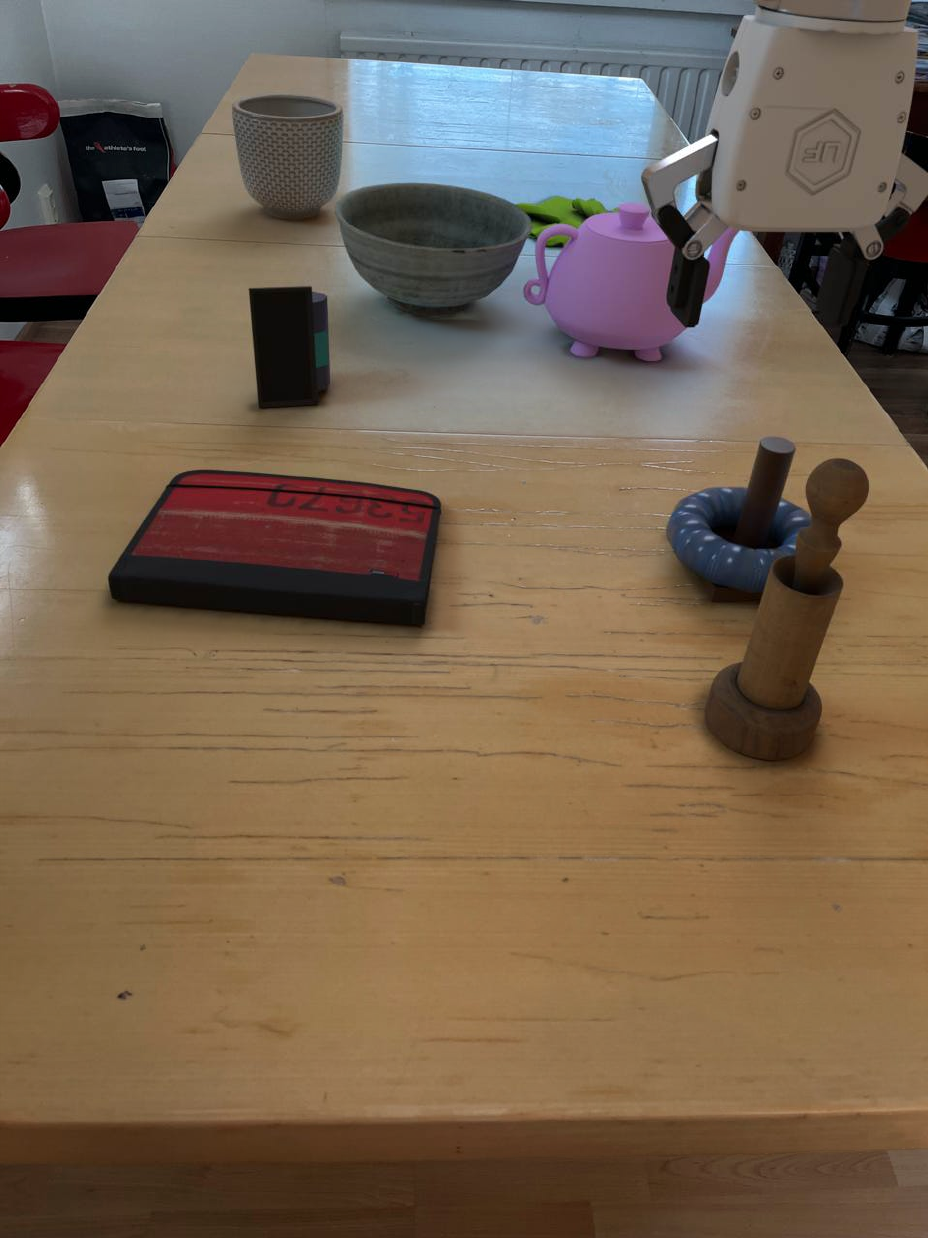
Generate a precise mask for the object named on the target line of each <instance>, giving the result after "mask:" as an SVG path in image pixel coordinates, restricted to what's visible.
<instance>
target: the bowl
mask: <svg viewBox="0 0 928 1238" xmlns="http://www.w3.org/2000/svg"><path fill="white" fill-rule="evenodd" d="M515 204H516V203H513V202H511V201H509V200H507V199H505V198H503V197H499V196H498V195H494V194H492V193H488V192H485V191H481V190H477V189H473V188H467V187H462V186H457V185H451V184H444V183H443V184H441V183H434V182H416V181H415V182H412V181H411V182H391V183H390V182H389V183H380V184H373V185H368V186H363V187H360V188H357V189H354V190H351V191H349V192H347V193H346V194H344V195H342V196H341V197H340V198H339V199H338V200H337V201H336V203H335V204H334V205H335V206H334V210H333V211H334V212H333V213H334V215H335V217H336V219H337V221H338V224H339V230H340V233H341V238H342V241H343V244H344V248H345V250H346V253H347V255H348V257H349V259H350V262H351V263H352V265H353V268H354V270H356V273H358V275H359V276H360V277H361V279H363V280H364V281H365V282H366V283H367V284H368V285H369V286H370V287H372V288H373V289H374V290H375V291H377V292H378V293H381V294H382V295H384V296H386V299H387V300H388V302H389V303H390V304H391V305H393V307H395V308H396V309H399V310H401V311H402V312H403V311H404V312H406V313H410V314H413V315H417V316H423V317H437V318H438V317H448V316H453V315H457V314H460V313H463V312H464V311H466V310H467V309H469V306H470V304H471V303H473V302H476V301H480V300H482V299H484V298H486V297H488V296H490V295H491V294H492V293H493V292H494V291H496V290H497V289H498V288H499V287H501V285H503V283H504V282H505V281H506V279H507V278H508V277H509V276H510V275H511V274H512V272H513V271H514V269H515V266H516V265H517V263H518V260H519V257H520V255H521V253H522V251H523V249H524V246H525V244H526V241H527V240H528V238H529V237H528V236H529V235H530V233H531V230H532V224H531V219H530V217H529V216H528V215H527V214H526V213H525V212H524V211H523V210H522V209H521V208H519V207H518V206H517V205H515Z"/></svg>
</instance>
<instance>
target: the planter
mask: <svg viewBox="0 0 928 1238" xmlns="http://www.w3.org/2000/svg"><path fill="white" fill-rule="evenodd" d="M231 118H232V125H233V133H234V140H235V147H236V155H237V160H238V165H239V171H240V176H241V180H242V183H243V186H244V189H245V190H246V191H247V194H248V195H249V196H250V198H251V199H253V201H255V202H256V203H258V204H259V205H261V206H262V207H263V209H264V211H265V213H266V214H267V215H269V216H270V217H273V218H276V219H281V220H287V221H300V220H301V221H302V220H309V219H312V218H315V217H317V216H318V215H319V214H320V212H321V209H322V207H323V206H325V205H327V204H328V203H329V202H330V201H331V200H332V199H333V198H334V197H335V195H336V193H337V191H338V188H339V185H340V179H341V173H342V172H341V171H342V163H343V162H342V161H343V146H344V145H343V142H344V121H345V120H344V118H345V117H344V109H343V106H342V105H341V104H340V103H338V102H336V101H334V100H331V99H328V98H324V97H319V96H313V95H306V94H294V93H266V94H265V93H263V94H253V95H248V96H244V97H240V98H238V99H236V100H234V101H233V102H232V104H231Z"/></svg>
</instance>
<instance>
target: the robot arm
mask: <svg viewBox="0 0 928 1238" xmlns="http://www.w3.org/2000/svg"><path fill="white" fill-rule="evenodd" d="M912 1H913V0H753V4H755V5H756V7H755V12H754V14H746V15H743V17H742V19H741V21H740V24H739V27H738V29H737V32H736V34H735V37H734V40H733V41H732V45H731V47H730V50H729V52H728V56H727V58H726V61H725V64H724V67H723V70H722V73H721V76H720V79H719V82H718V85H717V89H716V93H715V96H714V99H713V103H712V107H711V110H710V114H709V118H708V122H707V126H706V130H705V133H704V137H703V138H700V139H698V140H697V141H695V142H693V143H691V144H689V145H687V146H685V147H684V148H682V149H680V150H678V151H676V152H674V153H672V154H670V155H668V156H666V157H664V158H662V159H660V160H658V161H657V162H654V163H652V164H650V165H648V166H647V167H645V168H644V169H643V170H642V172H641V175H640V179H641V183H642V186H643V189H644V193H645V196H646V199H647V203H648V205H649V208H650V212H651V213H650V214H651V217H653V219H654V220H655V222H656V223H657V224H658V226H659V227H660V228H661V230H662V231H663V232H664V234H665V235H666V236H667V238H668V239H669V241H670V243H671V244H672V245H674V247H675V249H674V255H673V260H672V266H671V272H670V277H669V283H668V288H667V295H666V299H667V304H668V306H669V307H670V310H671V312H672V313H673V315H674V316H675V317H676V318H677V319H678V320H679V321H680V322H681V323H682V325H683V326H684V327H685V328H686V329H688V328H689V329H690V328H696V326H697V325H699V324H700V318H701V314H702V309H703V305H704V304H703V299H704V294H705V289H706V284H707V279H708V274H709V269H710V262H709V261H708V260H707V257H705V253H706V252H707V251H708V250H709V249H710V248H711V247H712V244H713V243H714V242H715V241H716V240H717V239H718V238H719V237H720V236H721V235H722V234H723V233H724V232H725V231H726V230H727V229H728V228H729V227H730V228H733V229H736V230H740V232H741V231H742V232H756V233H757V232H758V233H759V232H762V233H768V232H769V233H838V234H839V237H840V239H841V241H840V243H833V245H832V247H831V248H830V250H829V253H828V256H827V260H826V264H825V266H824V269H823V270H824V271H823V275H822V278H821V281H820V285H819V289H818V293H817V296H816V300H815V304H814V305H815V309H816V310H817V311H818V312H819V313H821V315H823V316H824V317H826V318H827V319H828V320H829V321H831V322H832V323H833V324H834V325H836V326H847V325H848V324H849V322H850V318H851V315H852V312H853V308H854V307H855V306H856V305H857V304H858V301H859V298H860V294H861V291H862V287H863V285H864V281H865V278H866V274H867V271H868V267H869V264H870V261H872V260H876V259H877V258H878V257H880V256H881V254H882V253H883V251H884V246H885V245H886V244H887V243H888V242H890V241H891V240H892V239H893V238H895V237H896V236H897V235H898V234H899V233H900V232H902V231H903V230H904V229H905V228H906V227H907V226H908V224H909V223H910V221H911V215H912V214H913V213H915V212H916V211H917V210H918V209H919V207H920V206H921V205H922V203H923V202H924V201H925V200H926V198H927V197H928V172H927V171H926V170H925V169H924V168H923V167H921V166H920V165H919V164H917V163H916V162H914V161H913V160H912V159H911V158H909V157H908V156H906V155H905V154H904V153H903V152H902V151H903V147H904V142H905V137H906V131H907V128H908V122H909V116H910V113H911V112H910V111H911V106H912V102H913V101H912V100H913V94H914V85H915V79H916V70H917V61H918V60H917V59H918V48H919V29H916V28H913V27H909V26H906V23H907V18H908V15H909V11H910V8H911V4H912ZM694 177H695V185H694V186H695V188H694V195H695V200H696V202H695V203H694V204H693V205H692V206H691V207H690V208H689V210H688V211H686V213H685V214H684V215H683V214H682V213H681V212H680V210H679V209H678V205H677V203H676V197H675V191H676V188H677V187H678V186H679V185H680V184H681V183H684V182H686V181H687V180H689V179H691V178H694ZM894 184H895V189H894V191H893V187H894ZM892 191H893V193H892Z"/></svg>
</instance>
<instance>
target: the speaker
mask: <svg viewBox="0 0 928 1238" xmlns="http://www.w3.org/2000/svg"><path fill="white" fill-rule="evenodd" d="M248 295H249V298H248V299H249V307H250V308H249V309H250V321H251V329H252V330H251V332H252V345H253V355H254V358H253V359H254V368H255V380H256V381H255V382H256V393H257V406H258V409H263V408H278V407H296V406H311V405H313V406H314V405H319V398H318V397H319V395H318V393H319V392H321V391H324V390H327V389H328V388H329V386H330V385H331V364H330V363H331V361H330V359H331V358H330V336H329V335H330V333H329V308H328V306H329V305H328V295H327V294H325V293H322V292H317V291H313V287H312V285H303V286H302V285H297V286H270V287H267V286H266V287H265V286H264V287H248Z"/></svg>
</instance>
